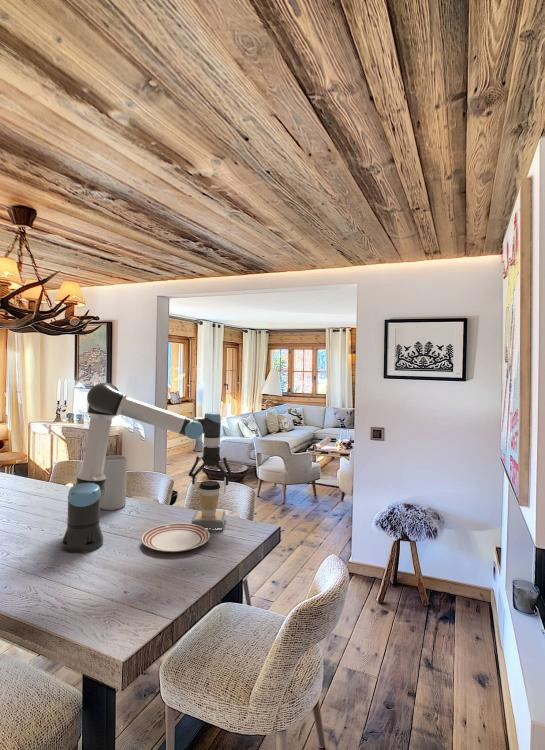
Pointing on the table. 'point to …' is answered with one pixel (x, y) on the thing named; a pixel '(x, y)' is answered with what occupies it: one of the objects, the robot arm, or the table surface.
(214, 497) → the coffee cup
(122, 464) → the cylinder vase
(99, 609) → the table surface
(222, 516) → the trivet base
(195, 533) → the dinner plate
